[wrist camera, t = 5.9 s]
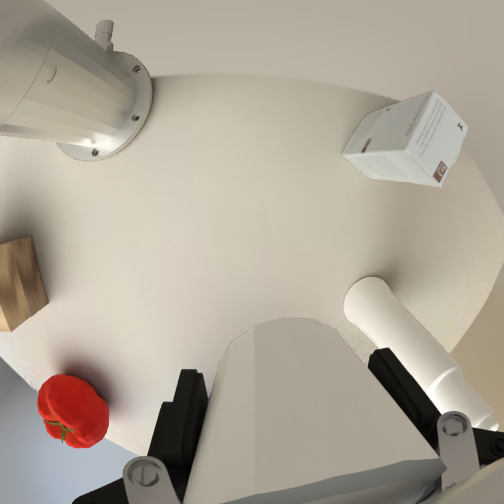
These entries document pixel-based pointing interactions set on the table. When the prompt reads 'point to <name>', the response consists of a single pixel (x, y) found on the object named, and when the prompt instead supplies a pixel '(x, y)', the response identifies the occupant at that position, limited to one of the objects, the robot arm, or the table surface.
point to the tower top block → (11, 292)
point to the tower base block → (29, 273)
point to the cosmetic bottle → (415, 350)
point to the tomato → (73, 411)
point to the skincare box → (408, 141)
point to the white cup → (305, 426)
